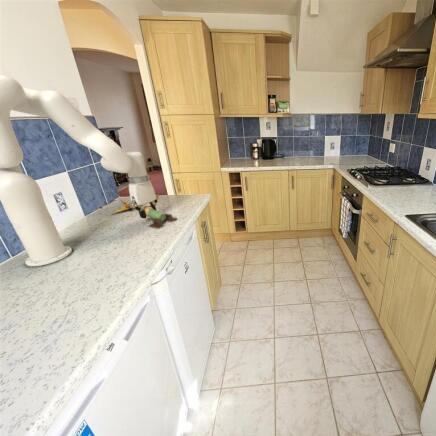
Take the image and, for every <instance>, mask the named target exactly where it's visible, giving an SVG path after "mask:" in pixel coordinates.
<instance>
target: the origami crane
mask: <svg viewBox="0 0 436 436" xmlns="http://www.w3.org/2000/svg"><path fill="white" fill-rule="evenodd" d="M118 200H119V201H120V202H121V203H122V205H124V206H121V207H120V208H119V209H118V210H115V211H114V212H113V213H112V215H115V214H117V213H121V212H124V211H127V210H134V208H131V207H130V204H131V202H128V203H127V202H126V201H123V199H121V198H119V199H118ZM135 206H137V204H135Z"/></svg>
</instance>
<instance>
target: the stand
mask: <svg viewBox="0 0 436 436" xmlns="http://www.w3.org/2000/svg"><path fill="white" fill-rule="evenodd" d="M164 214H165V215H166V218H165V220H164V221H167V222H175V221H178V218H176V217H173V215H172V214H170V213H164ZM148 226H149V227H150V228H155V229H160V228H163V221H161V219H157V218H152V223H151V224H149V225H148Z"/></svg>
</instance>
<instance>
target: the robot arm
mask: <svg viewBox="0 0 436 436" xmlns="http://www.w3.org/2000/svg"><path fill="white" fill-rule="evenodd" d="M11 111H14V112H18V113H23V114H27V115H31V116H36V117H37V116H38V117H44V118H50V119H51V120H52V121H53V122H54V123H55V124H56V125H57V126H58V127H60V128H61V129H62V130H63V131H64V132H65V133H66V134H67V135H68V136H70V138H71V139H72V140H74V141H75V142H77V143H78V144H80V145H82V146H84V147H86V148H88V149H90V150H92V151H94V152H95V153H96V154H98V155H100V156H101V158H100V165H101V167H102V168H103V169H105V170H106V171H109V172H112V173H119V174H127V176H128V180H129V184H128V192H129V197H130V203H131V204H130V209H132V208H133V210H136V211H138V214H139V217H140V218H141V219H144V220H146V219H147V216H146V214H145V211H143V207H144V205H146V204H149V206H150V207H152V208H153V209H154V210H156V211H158V210H157V204H158V201H159V199H160V196H159V195H157V194H156V191H155V188H154V186H153V184H152V182H151V180H150V177H151V176H150V174H148V172H147V167H146V164H145V159H144V155H143V154H142V152H140V151H128V152H126V151H125V150H124V149H123V148H122V147H121V146H120V145H119V144H118V143H116V142H115V141H114V140H113V139H111V138H110V137H109V136H108V135H106V134H105V133H104V132H102V131H101V130H100V129H98V128H97V127H96V126H95V125H94V124H93V123H92V122H91V121H90V120H88V119H87V117H86V116H85V115H84V114H83V113H82V112H81V111H80V110H79V109H78V108H77V107H76V106H75V105H74V104H73V103H72V102H71V101H70V99H68V98H67V97H66V96H64V94H62V93H60V92H58V91H56V90H51V89H46V90H35V89H32V88H28V87H24V86H22V85H21V84H20V83H19V81H17V80H16V79H14V78H13V77H11V76H9V75H5V74H1V73H0V203H1V205H2V207H3V210H4V211H5V214H6V216H7V218H8V220H9V222H10V223H11V226H12V227H13V230H14V231H15V233H16V234H17V237H18V238H19V241H20V242H21V244H22V246H23V248H24V250H25V252H26V253H27V255H28V257H26V258H25V260H24V263H25V265H26V266H27V267H41V266H46V265H51V264H53V263H56V262H59V261H61V260H63V259H65V258H67V257H68V256H70V254H72V252H73V249H72V247H71V246H68V245H64V243H63V240H62V238H61V236H60V234H59V231H58V229H57V227H56V225H55V223H54V220H53V218H52V216H51V214H50V212H49V210H48V208H47V205H46V203H45V200H44V196H43V193H42V190H41V187H40V185H39V184H38V182H37V181H36V180H35V179H34V178H33V177H31V176H30V175H28V174H25V173H24V172H23V169H22V166H21V165H20V164H21V163H22V162H23V160H24V153H23V150H22V148H21V146H20V143H19V140H18V138H17V136H16V133H15V131H14V128H13V124H12V121H11ZM135 204H137V205H136V206H135Z"/></svg>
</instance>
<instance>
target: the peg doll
mask: <svg viewBox="0 0 436 436" xmlns="http://www.w3.org/2000/svg"><path fill="white" fill-rule="evenodd" d="M150 206H151V205H145V206H143V211H145V214H146V218H148V217H149V218H152V219H153V218H157V219H161V221H162V222H164V221H166V220H165V218H166V215H165V214H166V213H163V212H160V211H158V210H157V209H156V210H157V211H156V210H154V209H153V208H152V207H150Z"/></svg>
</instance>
